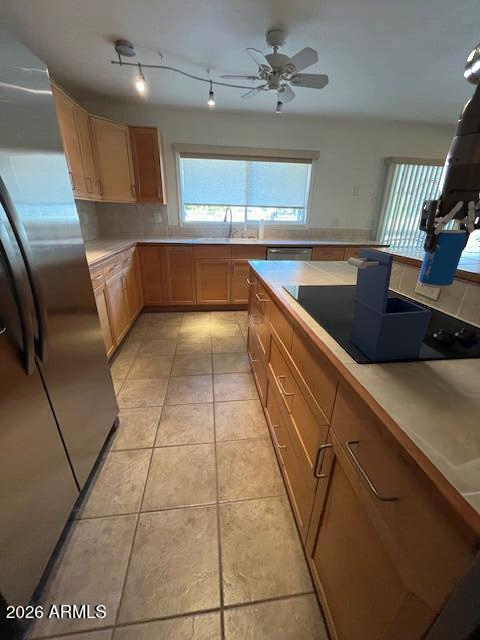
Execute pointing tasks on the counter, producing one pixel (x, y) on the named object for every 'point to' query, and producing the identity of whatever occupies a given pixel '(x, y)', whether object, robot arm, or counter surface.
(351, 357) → the counter surface
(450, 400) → the counter surface
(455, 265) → the beverage can
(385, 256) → the lid
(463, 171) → the robot arm
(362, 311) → the box
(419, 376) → the counter surface
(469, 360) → the counter surface
